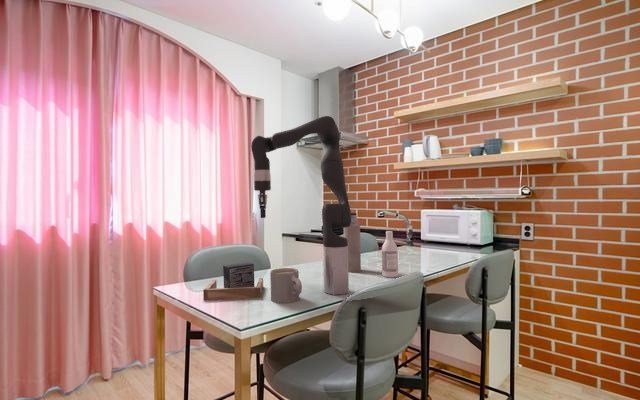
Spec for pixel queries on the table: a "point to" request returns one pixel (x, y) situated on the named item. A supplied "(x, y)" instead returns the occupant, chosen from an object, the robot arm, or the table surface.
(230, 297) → the walnut tray
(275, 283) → the coffee mug
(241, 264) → the small box
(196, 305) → the table surface
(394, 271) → the bath foam
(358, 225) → the thermos bottle
